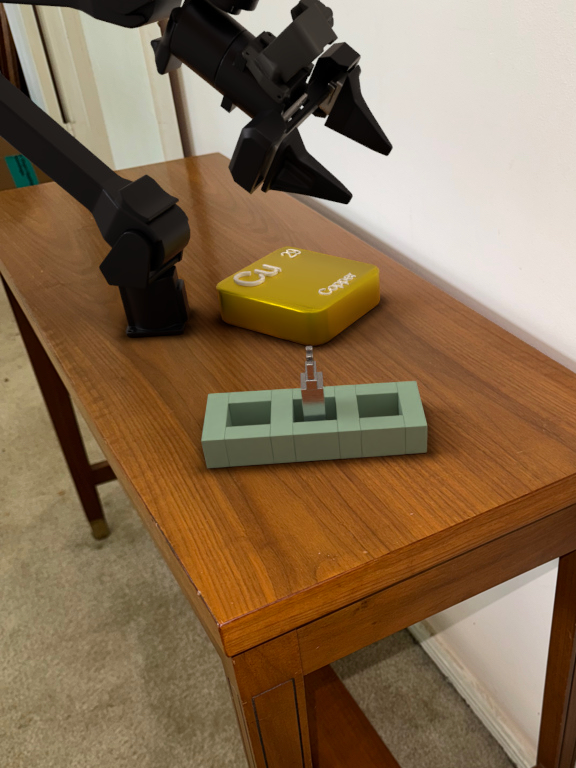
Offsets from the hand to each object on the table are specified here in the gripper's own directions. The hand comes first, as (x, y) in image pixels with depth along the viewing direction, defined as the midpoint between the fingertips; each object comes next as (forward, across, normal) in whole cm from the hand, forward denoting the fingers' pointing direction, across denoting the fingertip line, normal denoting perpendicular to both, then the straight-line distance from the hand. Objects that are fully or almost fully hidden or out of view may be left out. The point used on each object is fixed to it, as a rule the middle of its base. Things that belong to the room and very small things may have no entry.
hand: (371, 175), depth 72 cm
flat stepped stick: (+10, -21, +11) cm, 25 cm away
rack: (+10, -21, +11) cm, 25 cm away
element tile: (+1, +2, +23) cm, 23 cm away
